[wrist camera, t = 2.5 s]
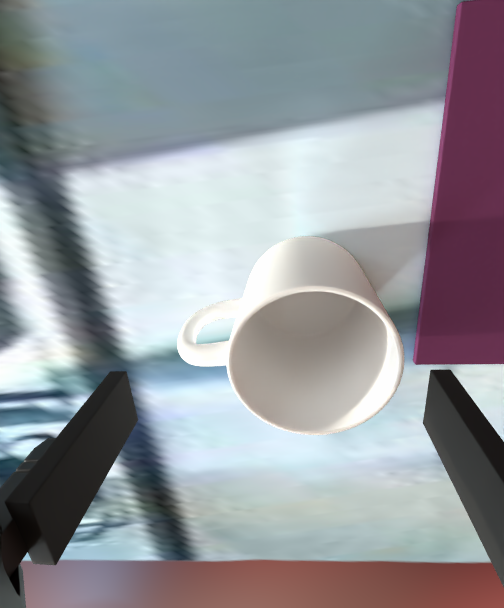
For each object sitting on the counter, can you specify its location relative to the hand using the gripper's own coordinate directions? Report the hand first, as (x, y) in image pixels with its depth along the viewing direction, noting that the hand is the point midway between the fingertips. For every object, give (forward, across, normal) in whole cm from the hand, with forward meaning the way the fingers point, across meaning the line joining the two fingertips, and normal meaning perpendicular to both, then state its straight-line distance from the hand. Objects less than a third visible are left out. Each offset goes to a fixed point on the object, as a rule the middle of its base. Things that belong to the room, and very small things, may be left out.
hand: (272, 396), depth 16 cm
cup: (+12, 0, 0) cm, 12 cm away
